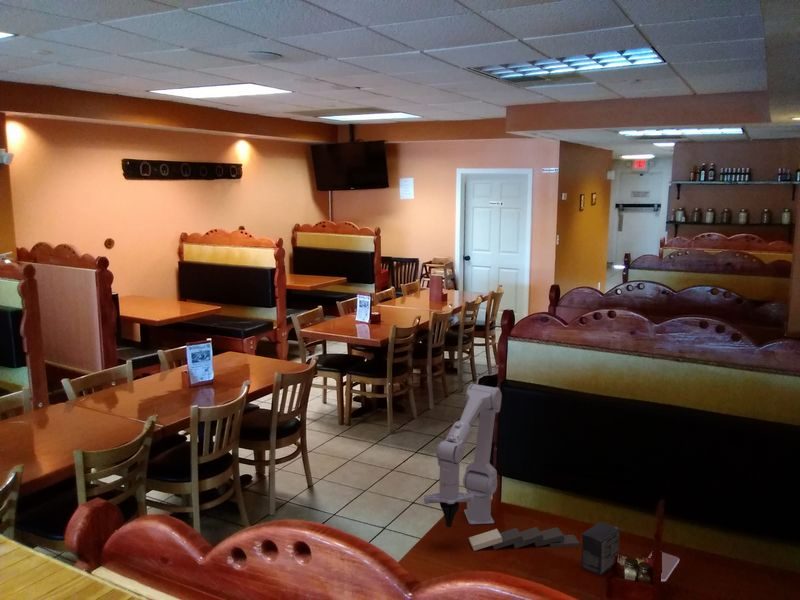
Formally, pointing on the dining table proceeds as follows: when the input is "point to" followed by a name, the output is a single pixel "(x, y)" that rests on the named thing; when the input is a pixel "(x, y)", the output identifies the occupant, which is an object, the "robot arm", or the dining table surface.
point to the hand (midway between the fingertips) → (448, 525)
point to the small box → (600, 547)
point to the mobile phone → (667, 565)
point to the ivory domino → (485, 539)
